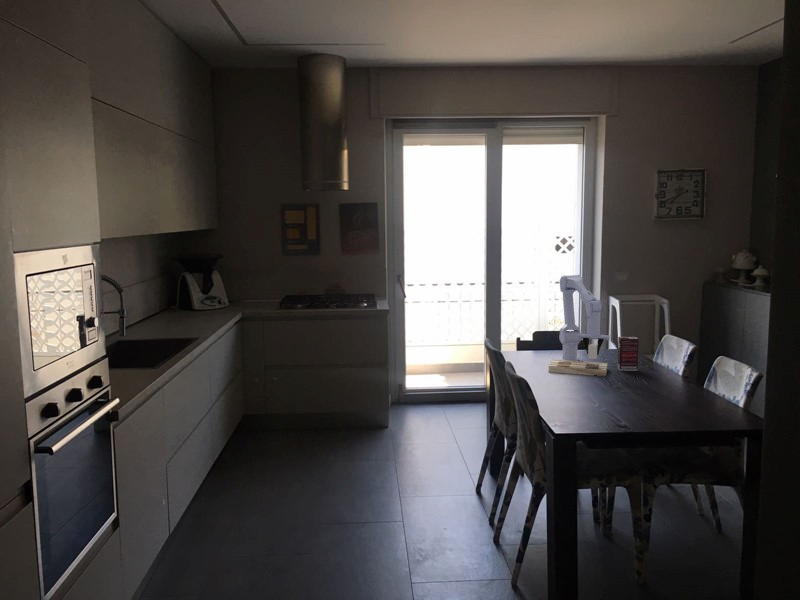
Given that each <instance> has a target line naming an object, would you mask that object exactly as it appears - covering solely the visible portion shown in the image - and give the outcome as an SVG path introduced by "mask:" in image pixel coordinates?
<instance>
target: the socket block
mask: <svg viewBox="0 0 800 600" xmlns="http://www.w3.org/2000/svg"><path fill="white" fill-rule="evenodd" d="M608 365H609V364H608V362H596V361H595V362H594V361H584V360H583V361H581V360H580V361H579V360H578V361H569V360H562V359H553V358H552V360H551V362H550V363H549V365H548V373H559V374H569V375H570V374H572V375H582V374H583V375H585V376H594V375H597V376H596V377H606V376H607V372H608Z"/></svg>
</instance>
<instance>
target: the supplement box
mask: <svg viewBox="0 0 800 600" xmlns="http://www.w3.org/2000/svg"><path fill="white" fill-rule="evenodd" d="M617 339H618V340H617V369H618V371H622V372H635V371H636V372H638V370H639V369H638V367H639V338H638V337H637V336H618V337H617Z"/></svg>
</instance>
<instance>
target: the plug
mask: <svg viewBox="0 0 800 600" xmlns="http://www.w3.org/2000/svg"><path fill="white" fill-rule="evenodd" d="M597 349H598V344H594V343H593V344H591V343H589V345H588V354H587V359H592V360H593V359H594V360H596V359H598V355H597Z"/></svg>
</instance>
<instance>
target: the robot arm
mask: <svg viewBox="0 0 800 600" xmlns="http://www.w3.org/2000/svg"><path fill="white" fill-rule="evenodd" d="M583 282H584V279H583V276H582V275H581V274H573V275H572V274H571V275H568V274H567V275H564V274H563V275H561V277H560V279H559V291H560V292H562V302H563V303H562V304H563V315H564V316H563V317H564V320H563V321H564V325H563V326H561V328H560V329H559V336H558V337H559V341H560V343H561V344H562V358H561V360H569V361H579V360H580V359H579V357H578V345H579V344H580V343H581V341H582V343H583V345H584V346H585V351H586V354H587V355H588V345H589V344H590V342H589V341H590V340H597V345H598V349H597V356H599V354H600V349H601V347H602V345H603V343H604V340H605V341H610V337H611V336H610V335H607V334H606V335H605V334H601V333H600V332H601V313H602V312H603V311H604V304H603V301H602V300H600V299H597V298H596V297H595V296H594V294H593V293H592V291H591V290H587V288H586V286H585V284H584V283H583ZM575 292H577V293H579V296H580V300H581V301H582V303H583V304H584V305H585V306H584V307H585V311H586V312H585V313H586V317H587V324H586V325H587V327H586V328H587V329H586V332H587V333H581V329H580V327H579V326H578V325H576V320H575V303H574V293H575Z"/></svg>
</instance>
